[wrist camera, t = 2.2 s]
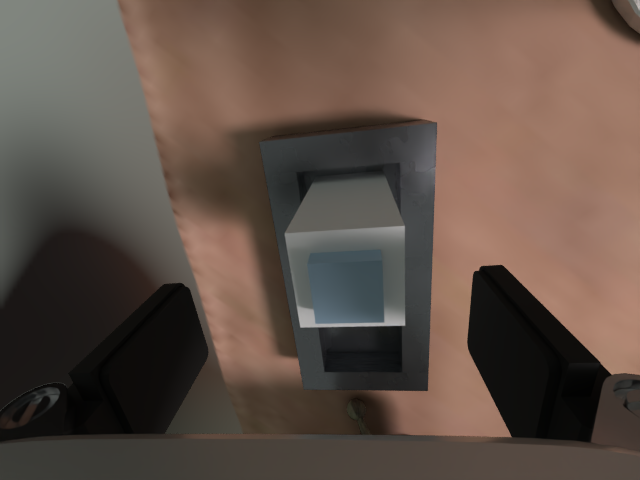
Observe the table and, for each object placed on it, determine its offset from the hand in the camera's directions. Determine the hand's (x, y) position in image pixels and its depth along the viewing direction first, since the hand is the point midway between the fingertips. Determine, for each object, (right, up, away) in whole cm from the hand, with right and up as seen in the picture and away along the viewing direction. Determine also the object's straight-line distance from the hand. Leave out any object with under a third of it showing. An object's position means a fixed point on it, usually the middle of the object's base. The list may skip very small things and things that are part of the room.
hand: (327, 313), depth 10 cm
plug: (+2, +5, +9) cm, 10 cm away
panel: (+2, +1, +12) cm, 12 cm away
